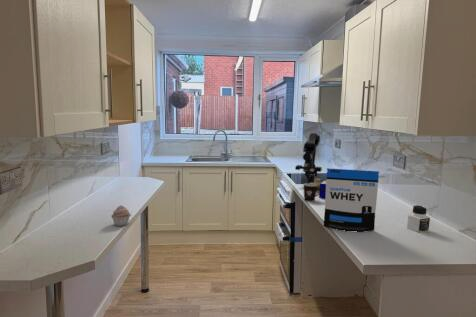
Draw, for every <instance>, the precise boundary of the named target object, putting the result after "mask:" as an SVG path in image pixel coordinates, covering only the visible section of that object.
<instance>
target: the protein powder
mask: <svg viewBox="0 0 476 317" xmlns="http://www.w3.org/2000/svg"><path fill="white" fill-rule="evenodd" d="M326 170H327V171H326V177H325V178H326V179H325V181H326V197H325V199H324V200H325V201H324V216H323V227H327V228H329V229H332V230H336V229H337V230H336V231H340V230H345V231H344V232H347V231H357V232H356V233H365V232H364V231H368V232H372V231H371V230H374V231H375V223H376V221H375V220H376V210H377V200H378V199H377V198H378V190H379V178H380V177H379V176H380V171H377V170H364V169H345V168H344V169H342V168H330V167H329V168H326Z"/></svg>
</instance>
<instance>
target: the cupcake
mask: <svg viewBox="0 0 476 317" xmlns="http://www.w3.org/2000/svg"><path fill="white" fill-rule="evenodd" d="M112 212H113V213H112V215H110V216H111V219H112V220H113V224H114V226H115V227H125V226H127V225H129V220H130V217H131V215H132V214H131V213H130V212H129V210H128V209H127V207H125V206H124V205H122V204H121V205H119V206H117V207H116V209H114V210H113V211H112Z"/></svg>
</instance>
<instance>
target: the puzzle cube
mask: <svg viewBox="0 0 476 317" xmlns="http://www.w3.org/2000/svg"><path fill="white" fill-rule="evenodd" d="M320 188H322V189H323V192H322V189H320V192H318V194H320V193H321V192H322V193H321V194H320V195H318V196H319V198H320V199H324V200H325V197H326V180H323V181H322V182H320Z"/></svg>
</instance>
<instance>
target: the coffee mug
mask: <svg viewBox="0 0 476 317" xmlns="http://www.w3.org/2000/svg"><path fill="white" fill-rule="evenodd" d="M319 188H320V187H319ZM319 188H317V185H316V184H311V183H306V182H305V183H303V197H304V201H306V202H314V201H315V199H316V197H317V196H319V195H320V194H321V193H322V192H323V189H322V188H320V189H322V192H321V193H320V192H319V193H320V194H319V193H318V194H317V192H316V191H317V189H319Z"/></svg>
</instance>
